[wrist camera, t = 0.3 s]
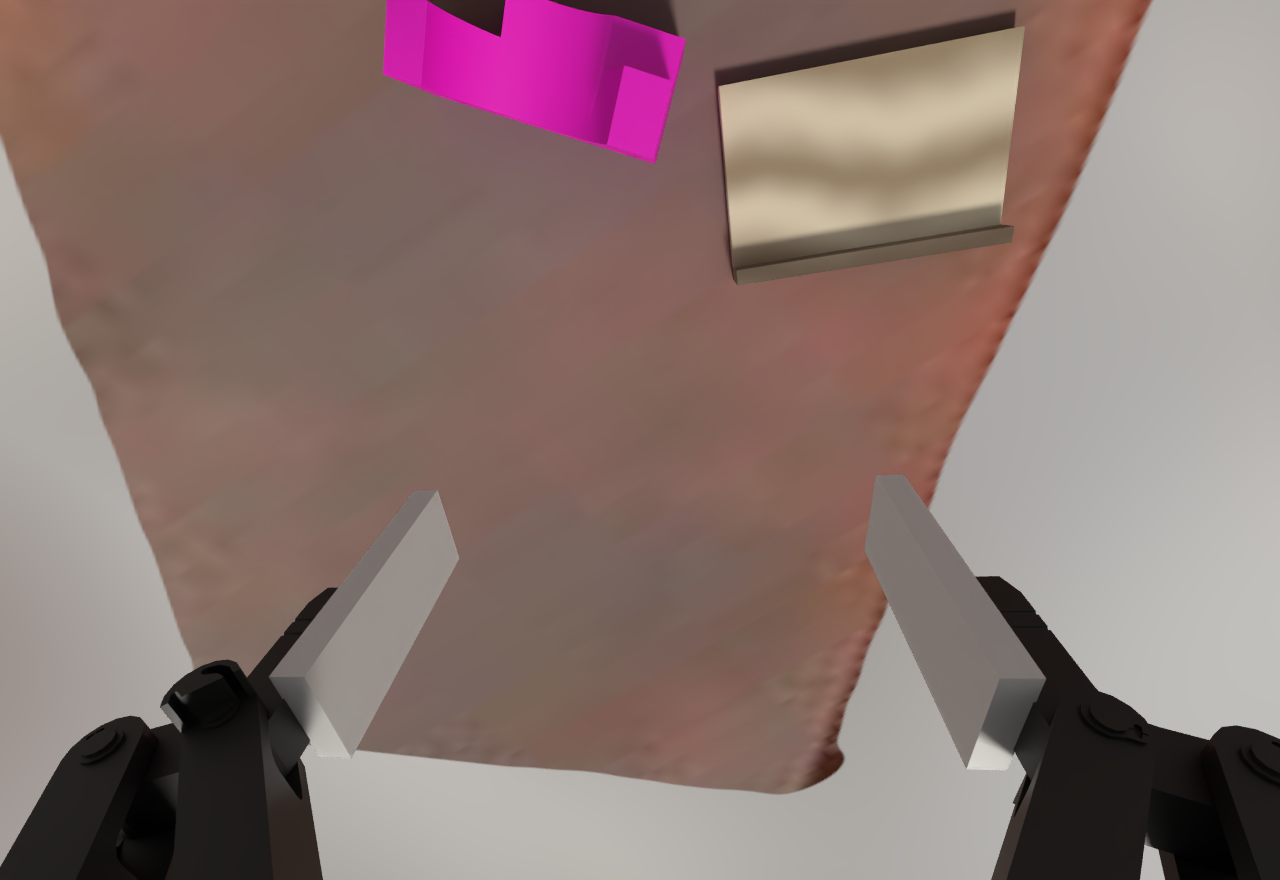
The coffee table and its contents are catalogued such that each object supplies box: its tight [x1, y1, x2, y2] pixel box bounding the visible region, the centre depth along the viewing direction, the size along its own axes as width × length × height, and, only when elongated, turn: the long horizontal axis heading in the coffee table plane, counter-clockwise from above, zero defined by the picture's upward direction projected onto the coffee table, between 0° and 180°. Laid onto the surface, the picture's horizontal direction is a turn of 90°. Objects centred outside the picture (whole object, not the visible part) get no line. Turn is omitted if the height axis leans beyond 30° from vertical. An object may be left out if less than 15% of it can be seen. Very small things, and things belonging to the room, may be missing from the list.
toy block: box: [383, 0, 686, 164], centre depth 31 cm, size 15×6×8 cm, turn 74°
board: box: [718, 26, 1025, 285], centre depth 34 cm, size 12×18×2 cm, turn 99°
